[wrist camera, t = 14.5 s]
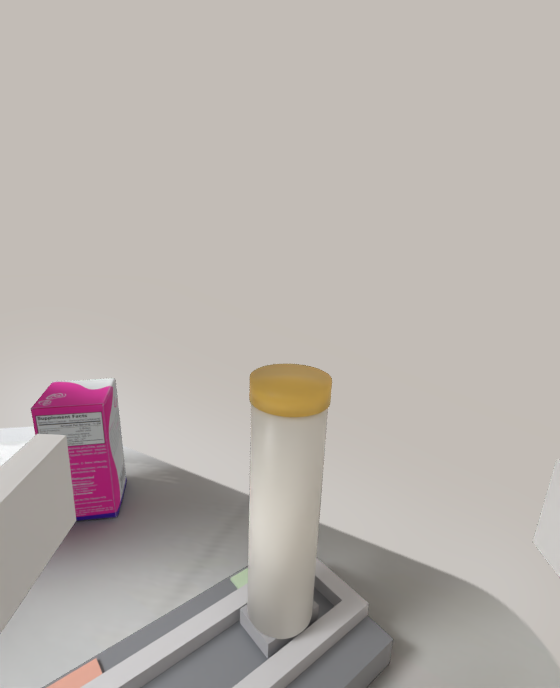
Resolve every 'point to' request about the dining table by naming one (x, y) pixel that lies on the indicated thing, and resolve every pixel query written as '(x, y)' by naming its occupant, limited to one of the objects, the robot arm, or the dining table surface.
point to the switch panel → (244, 646)
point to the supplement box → (87, 441)
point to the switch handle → (284, 500)
